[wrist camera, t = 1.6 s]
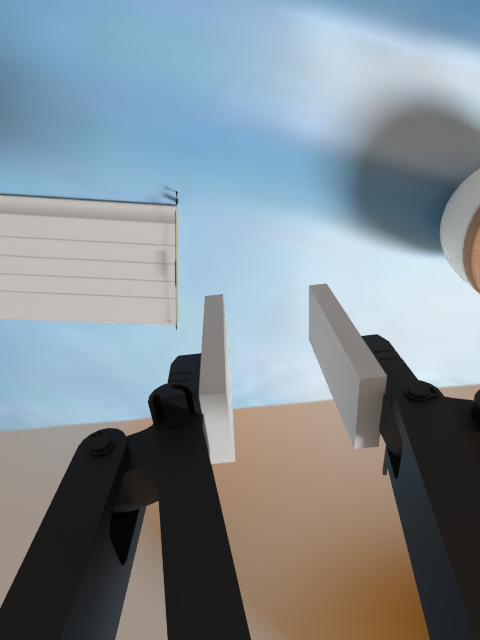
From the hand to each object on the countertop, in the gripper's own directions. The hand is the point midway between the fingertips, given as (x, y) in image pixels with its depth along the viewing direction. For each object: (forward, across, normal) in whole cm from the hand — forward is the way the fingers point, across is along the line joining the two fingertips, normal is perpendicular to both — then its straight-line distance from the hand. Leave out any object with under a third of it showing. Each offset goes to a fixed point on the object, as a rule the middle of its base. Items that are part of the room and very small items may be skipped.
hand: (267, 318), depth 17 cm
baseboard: (+17, -21, 0) cm, 27 cm away
